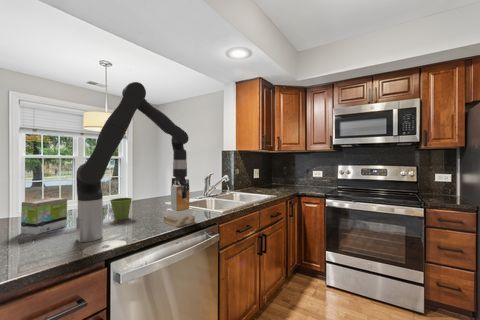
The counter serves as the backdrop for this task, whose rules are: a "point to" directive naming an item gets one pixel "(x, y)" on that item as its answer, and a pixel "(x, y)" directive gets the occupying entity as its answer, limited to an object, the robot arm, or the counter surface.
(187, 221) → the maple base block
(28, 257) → the counter surface
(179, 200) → the small box
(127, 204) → the plant pot
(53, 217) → the tea box
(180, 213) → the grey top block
